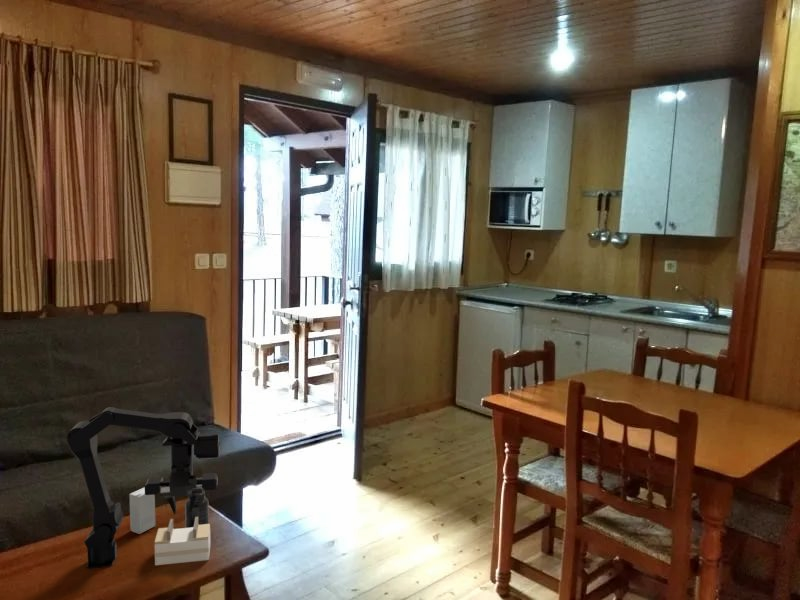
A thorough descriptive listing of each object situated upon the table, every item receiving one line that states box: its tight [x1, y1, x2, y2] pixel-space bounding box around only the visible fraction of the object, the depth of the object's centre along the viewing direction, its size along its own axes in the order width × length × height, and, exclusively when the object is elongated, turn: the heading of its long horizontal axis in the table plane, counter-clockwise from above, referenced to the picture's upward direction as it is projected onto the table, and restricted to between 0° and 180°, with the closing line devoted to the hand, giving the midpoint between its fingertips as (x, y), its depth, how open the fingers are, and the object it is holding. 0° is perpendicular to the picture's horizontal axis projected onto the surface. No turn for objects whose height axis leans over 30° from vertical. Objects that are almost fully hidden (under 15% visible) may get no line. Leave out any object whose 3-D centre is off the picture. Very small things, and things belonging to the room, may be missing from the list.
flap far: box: [193, 517, 211, 540], centre depth 174 cm, size 4×8×3 cm, turn 14°
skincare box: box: [128, 486, 156, 535], centre depth 187 cm, size 6×4×12 cm
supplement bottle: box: [184, 489, 210, 528], centre depth 188 cm, size 7×7×12 cm
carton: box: [154, 527, 211, 566], centre depth 173 cm, size 14×8×6 cm, turn 104°
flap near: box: [154, 518, 175, 544], centre depth 171 cm, size 4×8×3 cm, turn 14°
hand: (182, 512), depth 172 cm, fingers open, 4 cm apart
